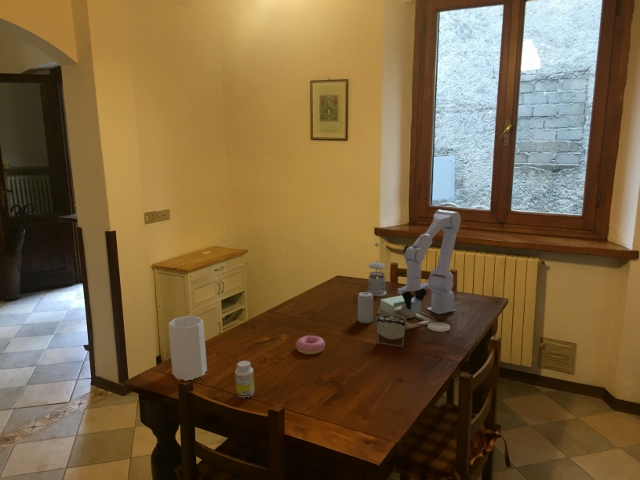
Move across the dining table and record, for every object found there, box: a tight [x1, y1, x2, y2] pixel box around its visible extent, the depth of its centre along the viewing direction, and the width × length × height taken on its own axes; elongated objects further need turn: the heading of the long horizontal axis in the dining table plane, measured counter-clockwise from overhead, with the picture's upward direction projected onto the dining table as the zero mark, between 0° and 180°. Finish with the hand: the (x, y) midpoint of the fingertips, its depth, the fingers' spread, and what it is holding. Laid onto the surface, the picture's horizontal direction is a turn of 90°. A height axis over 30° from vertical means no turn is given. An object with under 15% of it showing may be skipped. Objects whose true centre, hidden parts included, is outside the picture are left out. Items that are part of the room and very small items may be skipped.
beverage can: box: [357, 291, 374, 324], centre depth 216 cm, size 6×6×12 cm
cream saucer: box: [427, 321, 451, 333], centre depth 209 cm, size 9×9×1 cm
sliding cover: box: [379, 294, 406, 314], centre depth 224 cm, size 12×10×6 cm
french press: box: [367, 242, 388, 297], centre depth 252 cm, size 10×12×25 cm
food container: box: [374, 314, 408, 348], centre depth 195 cm, size 12×6×10 cm, turn 65°
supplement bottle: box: [234, 360, 256, 399], centre depth 159 cm, size 6×6×10 cm
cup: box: [168, 315, 208, 382], centre depth 172 cm, size 11×11×18 cm
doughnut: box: [295, 335, 326, 355], centre depth 191 cm, size 11×11×4 cm
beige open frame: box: [376, 306, 437, 330], centre depth 220 cm, size 15×21×2 cm
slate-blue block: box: [406, 297, 422, 314], centre depth 214 cm, size 4×4×5 cm
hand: (413, 307), depth 215 cm, fingers closed on slate-blue block, 4 cm apart
